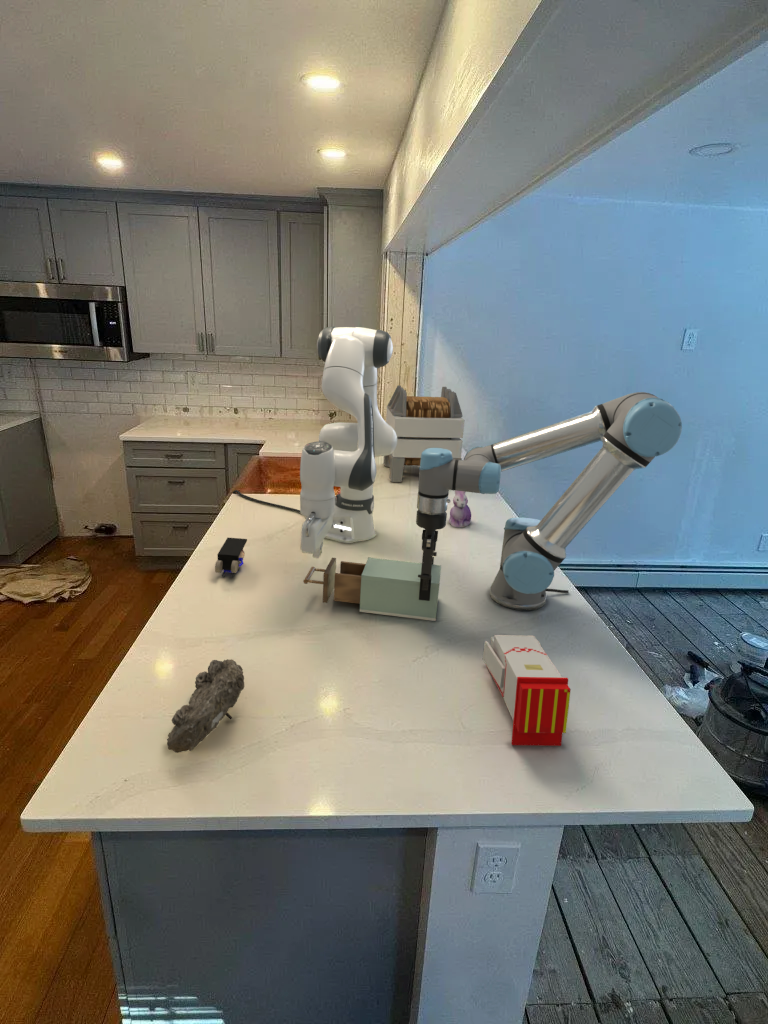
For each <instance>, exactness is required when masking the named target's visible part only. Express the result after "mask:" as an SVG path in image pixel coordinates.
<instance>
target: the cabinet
mask: <svg viewBox="0 0 768 1024" xmlns="http://www.w3.org/2000/svg"><path fill="white" fill-rule="evenodd" d="M365 564H366V565H365V567H364V570H363V573H362V575H361V594H360V604H359V612H360V613H368V614H374V615H375V614H376V615H385V616H391V617H400V618H407V619H414V620H415V619H416V620H424V621H425V620H426V621H433V622H434V621H435V622H436V621H437V611H438V601H439V593H440V584H441V573H442V572H441V570H442V565H441V564H434V563H433V564H432V570H431V575H432V577H431V590H430V601H425V600H419V591H420V577H418V575H421V568H422V562H415V561H406V560H396V559H388V558H379V557H372V556H371V557H367V559H366V562H365Z"/></svg>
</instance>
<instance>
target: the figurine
mask: <svg viewBox="0 0 768 1024" xmlns="http://www.w3.org/2000/svg"><path fill="white" fill-rule="evenodd" d="M452 503H453V506H452V507H451V508H450V511H449V518H448V519H449V520H448V523H449V524H450V525H451V527H454V528H464V527H468V526H469V525H470V524H471V520H472V511H471V508H470V506H469V505H468V503H469V499H468V497H467V495H466V492H465V491H456V490H454V496H453V498H452Z"/></svg>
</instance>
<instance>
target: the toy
mask: <svg viewBox="0 0 768 1024" xmlns="http://www.w3.org/2000/svg"><path fill="white" fill-rule="evenodd" d="M482 660H483V663H485V666H486V668H487V669H488V672H489V673H490V675H491V677H492V679H493V681H494V683H495V685H496V687H497V689H498V692H499V693H500V694H501V697H502V698H503V702H504V703H505V706H506V708H507V710H508V712H509V715H510V717H511V720H512V721H513V722H512V731H511V732H512V733H511V746H534V747H535V746H536V747H537V746H542V747H545V746H546V747H548V746H549V747H550V746H551V747H562V743H563V734H567V727H568V717H569V709H570V698H571V690H572V689H571V688H570V686H569V678H568V677H563V676H562V675H561V673H560V672H559V670H558V669H557V667H556V666H555V664H554V663H553V662H552V660H551V658H550V657H549V655H548V654H547V653H546V651H545V650H544V648H543V647H542V644H541V642H540V640H538V639H537V637H536V636H535V635H521V634H520V635H517V634H494V636H490V642H488V640H485V641H484V645H483V653H482Z"/></svg>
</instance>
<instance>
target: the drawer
mask: <svg viewBox="0 0 768 1024" xmlns="http://www.w3.org/2000/svg"><path fill="white" fill-rule="evenodd" d="M339 563H340V564H339V565H340V567H339V568H340V569H339V572H337V557H331V559H330V560H329V562H328V564H327V566H326V568H319V567H318V568H317V567H315V566H311V567H310V569H309V570H308V572H307V573H306V575H305V577H304V579H303V581H302V582H303V584H305V585H307V584H308V583H309V584H316V585H322V603H323V604H328V602H329V601H330V599H331V595H332V594H333V601H334V602H341V603H351V604H359V605H360V594H361V575H362V573H363V570H364V567H365V565H366V563H362V562H361V563H360V562H352V561H343V560H341V561H340V562H339ZM315 572H320V573H321V572H322V573H323V575H322V576H323V577H322V578H323V579H322V580H323V581H322V580H315V579H313V580H312V579H311V578H312V577H313V575H314V573H315Z"/></svg>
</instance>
